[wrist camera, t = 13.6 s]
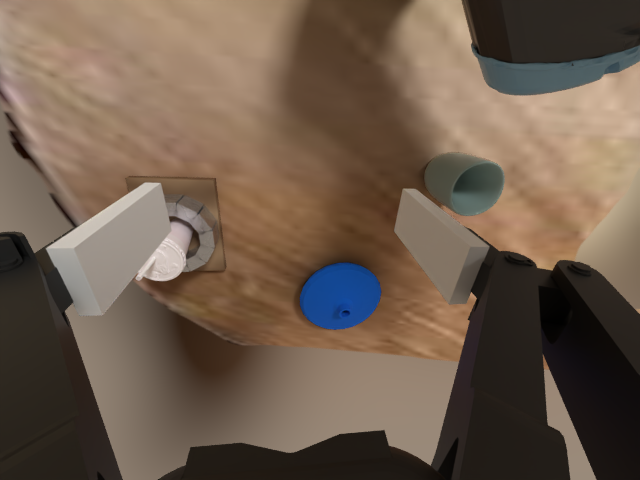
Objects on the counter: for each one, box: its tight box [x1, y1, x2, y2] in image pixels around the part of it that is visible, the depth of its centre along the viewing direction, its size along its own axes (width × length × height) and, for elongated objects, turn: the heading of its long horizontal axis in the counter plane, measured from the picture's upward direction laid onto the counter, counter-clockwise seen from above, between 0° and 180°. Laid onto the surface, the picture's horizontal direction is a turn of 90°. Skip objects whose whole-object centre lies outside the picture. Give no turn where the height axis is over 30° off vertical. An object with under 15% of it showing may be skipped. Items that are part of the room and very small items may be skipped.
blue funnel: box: [300, 262, 381, 330], centre depth 51 cm, size 16×16×7 cm
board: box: [125, 176, 226, 271], centre depth 44 cm, size 16×12×1 cm
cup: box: [424, 152, 504, 216], centre depth 41 cm, size 8×8×10 cm
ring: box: [164, 194, 219, 272], centre depth 42 cm, size 12×12×4 cm
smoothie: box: [136, 218, 194, 281], centre depth 37 cm, size 6×6×14 cm
